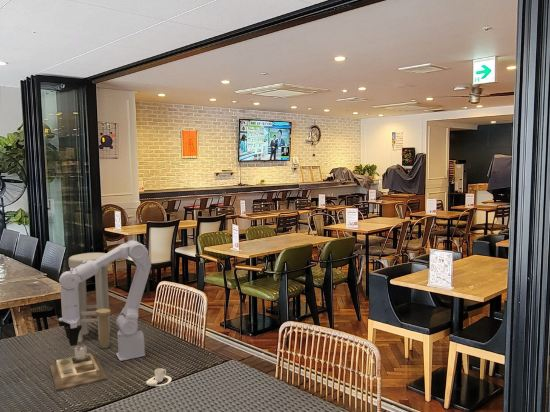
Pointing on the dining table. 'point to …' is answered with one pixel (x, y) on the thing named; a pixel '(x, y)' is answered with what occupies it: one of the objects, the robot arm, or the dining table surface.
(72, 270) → the robot arm
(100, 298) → the stool
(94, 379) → the socket block
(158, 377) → the teacup and saucer
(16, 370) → the dining table surface
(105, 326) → the handle
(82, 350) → the peg
